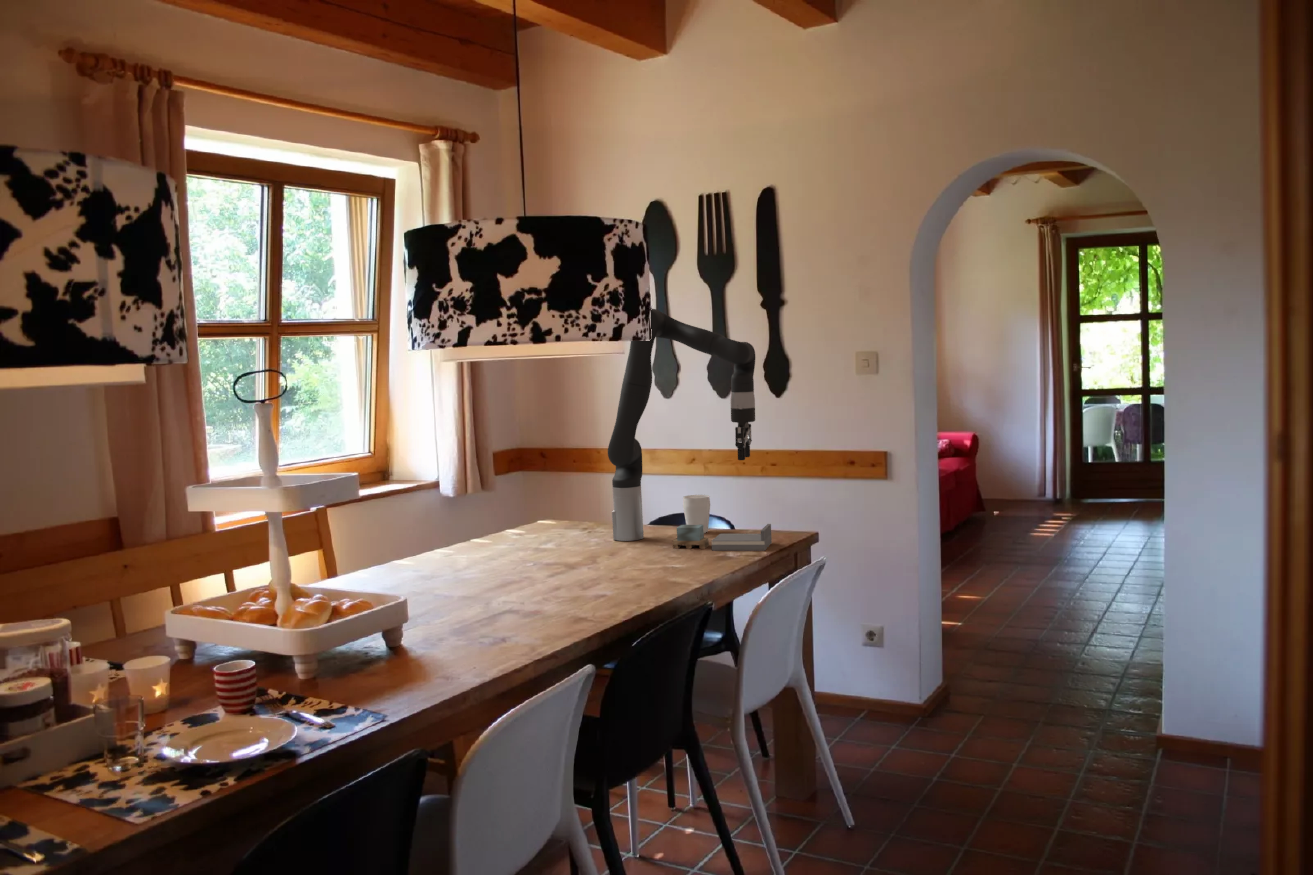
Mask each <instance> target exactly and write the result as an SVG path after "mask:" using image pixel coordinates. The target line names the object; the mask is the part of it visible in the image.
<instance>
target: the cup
mask: <svg viewBox="0 0 1313 875" xmlns="http://www.w3.org/2000/svg"><path fill="white" fill-rule="evenodd" d="M682 508H683V513H684V519H685V525H703V531H704V534H707V533H708V532H709V524H710V522H709V521H710V512H711V499H710V495H708V494H688V495H685V496H683V497H682ZM706 532H707V533H706Z"/></svg>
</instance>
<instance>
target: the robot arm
mask: <svg viewBox="0 0 1313 875" xmlns="http://www.w3.org/2000/svg"><path fill="white" fill-rule="evenodd" d="M651 309H652V310H651V329H652V339H651V340H650V341H631V340H630V345H629V352H628V357H627V360H626V361H627V362H626V366H625V370H624V371H625V372H624V374H623V378H622V383H621V384H622V385H621V389H620V393H619V394H620V395H619V400H618V406H617V412H616V413H617V414H616V418H615V423H614V426H613V431H612V433H611V437H610V439H609V444H608V446H607V458H608V460H609V462H610V463H611V464H613V466H615V473H614V474H613V478H612V500H613V502H612V503H613V510H612V511H611V519H612V520H611V522H612V523H611V524H612V539H613V541H618V542H619V541H620V542H621V541H622V542H625V541H626V542H627V541H628V542H630V541H639V540H642V539H644V519H643V517H644V516H643V498H642V477H643V450H642V446H641V443H640V442H639V441H638V439H636V432H637V429H638V426H639V423H640V420H641V417H642V415H643V414H644V412H645V409H646V407H647V405H648V402H649V398H650V395H651V390H652V383H653V369H652V353H653V347H654V343H655V339H656V338H660V339H666V340H671V341H674V342H677V343H680V344H682V345H684V346H686V347H688V348H691V349H693V350H696V351H698V352H701V353H704V354H707V355H709V356H714V357H717V358H719V359H722V360H723V361H726V362H728V363H731V364H733V373H732V375H731V377H730V422H731V423H737V426H735V428H734V430H735V435H734V436H735V439H734V440H735V447H736V448H737V460H738V461H745V460H746V458H750V457H751V443H752V441H753V440H752V423H753V422H755V421H756V398H755V388H754V387H755V386H754V385H755V384H754V382H755V381H754V375H755V374H754V373H755V367H756V351H755V348H754V346H753V345H752V344H751V343H749V342H748V341H737V340H735V339H730V338H727V337H725V336H724V335H723V334H720V333H717V332H714V331H711V330H708V329H705V328H702V327H698V326H695V325H691V324H687V323H684V322H683V321H679V320H677V319H675V318H673V317H672V316H668V314H666V313H663V312H662V311H660V310H658V309H656V308H651Z"/></svg>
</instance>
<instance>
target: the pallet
mask: <svg viewBox="0 0 1313 875" xmlns="http://www.w3.org/2000/svg"><path fill="white" fill-rule="evenodd" d="M697 545H698V546H699V549H700V550H701V549H702V550H704V549H706V548H707V547H709V546H710V539H709V537H705V533H704V531H703V525H686V524H680V525H679V526H678V527H676V538H674V539H673V540H672V549H674V550H675V549H679V548H680V547H682V546H685V549H687V550H688V549H689V550H690V549H693V548H694V547H695V546H697Z"/></svg>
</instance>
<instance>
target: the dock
mask: <svg viewBox="0 0 1313 875" xmlns="http://www.w3.org/2000/svg"><path fill="white" fill-rule="evenodd" d="M772 538H773V537H772V524H771V523H767V524H766V525H765V526H763V527H762V529H760V533H719V534H718V535H717V536H716V537H714V538H712V540H711V551H719V552H720V551H730V552H731V551H732V552H733V551H734V552H735V551H739V552H740V551H750V552H751V551H754V552H755V551H756V552H757V551H758V552H761V551H766V550H767V549H768V548H769V547H770V546H771V545H772V540H773V539H772ZM770 544H771V545H770ZM769 545H770V546H769ZM767 547H768V548H767Z"/></svg>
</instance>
